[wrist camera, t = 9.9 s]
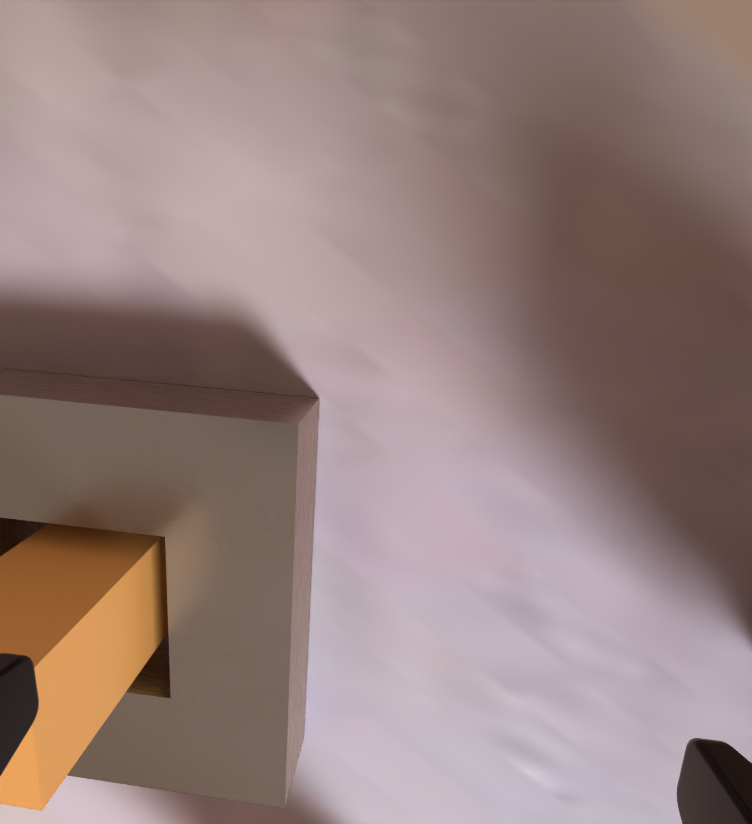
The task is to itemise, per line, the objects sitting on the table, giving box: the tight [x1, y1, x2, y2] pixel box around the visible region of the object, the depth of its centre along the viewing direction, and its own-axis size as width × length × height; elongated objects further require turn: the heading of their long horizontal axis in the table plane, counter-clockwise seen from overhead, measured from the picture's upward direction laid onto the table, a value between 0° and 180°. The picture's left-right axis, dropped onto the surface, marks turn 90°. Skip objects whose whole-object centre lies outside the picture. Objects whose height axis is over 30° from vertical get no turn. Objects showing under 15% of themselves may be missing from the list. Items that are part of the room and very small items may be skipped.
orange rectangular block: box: [0, 523, 168, 811], centre depth 17 cm, size 4×4×8 cm
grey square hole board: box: [0, 368, 319, 808], centre depth 20 cm, size 14×14×3 cm
